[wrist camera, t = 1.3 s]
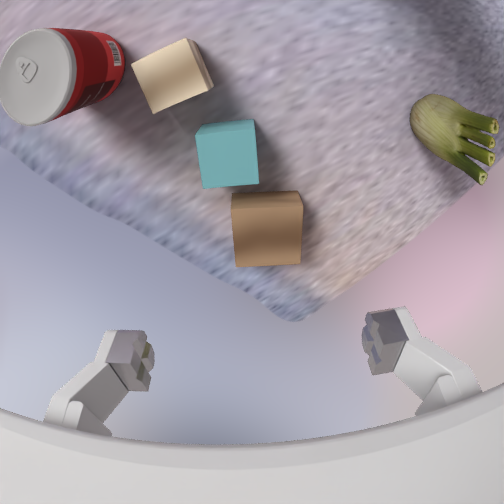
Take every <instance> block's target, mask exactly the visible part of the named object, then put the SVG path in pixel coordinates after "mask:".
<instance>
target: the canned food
mask: <svg viewBox="0 0 504 504" xmlns="http://www.w3.org/2000/svg"><path fill="white" fill-rule="evenodd" d="M124 69H125V58H124V54H123V51H122V49H121V47H120V45H119V44H118V43H117V42H116V41H115V39H113V38H112V37H111V36H109V35H107V34H104V33H100V32H93V31H84V30H73V29H59V28H41V29H35V30H31V31H29V32H26V33H24V34H23V35H21V36H20V37H18V38H17V39H16V40H15V41H14V42H13V43H12V44H11V46H10V47H9V49H8V50H7V51H6V53H5V55H4V57H3V59H2V62H1V65H0V101H1V104H2V106H3V108H4V110H5V111H6V113H7V114H8V116H9V117H10V118H12V119H13V120H14V121H15V122H17V123H19V124H21V125H25V126H36V125H40V124H44V123H47V122H49V121H52V120H54V119H57V118H59V117H61V116H63V115H66V114H68V113H71V112H73V111H75V110H78V109H80V108H83V107H85V106H88V105H91V104H93V103H96V102H98V101H101V100H103V99H105V98H106V97H108V96H109V95H110V94H111V93H112V92H113V91H114V90H115V89H116V87H117V86H118V85H119V83H120V81H121V79H122V77H123V73H124Z"/></svg>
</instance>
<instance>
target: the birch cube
mask: <svg viewBox="0 0 504 504" xmlns="http://www.w3.org/2000/svg"><path fill="white" fill-rule="evenodd" d="M131 66H132V68H133V70H134V73H135V75H136V77H137V79H138V82H139V84H140V86H141V88H142V91H143V93H144V95H145V97H146V100H147V102H148V104H149V106H150V108H151V111H152V113H153V114H155V113H157V112H159V111H161V110H163V109H165V108H168V107H170V106H172V105H174V104H177V103H179V102H181V101H184V100H186V99H188V98H191V97H193V96H196V95H198V94H200V93H203V92H206V91H208V90H210V89H211V88H212V87H214V85H213V83H212V80H211V78H210V75H209V73H208V70H207V68H206V66H205V63H204V61H203V58H202V56H201V54H200V51H199V49H198V47H197V44H196V42H195V41H192V40H190V39H187V38H184V39H182V40H180V41H178V42H175V43H173V44H171V45H169V46H166V47H164V48H162V49H160V50H158V51H156V52H154V53H152V54H150V55H148V56H146V57H144V58H142V59H140V60H138V61H136V62H134V63H132V64H131Z"/></svg>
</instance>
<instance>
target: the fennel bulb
mask: <svg viewBox="0 0 504 504" xmlns="http://www.w3.org/2000/svg"><path fill="white" fill-rule="evenodd" d="M410 125H411V127H412V130H413V132H414V134H415V135H416V136H417V138H418V139H419V140H420V141H421V142H422V143H423V144H424V145H425V146H426V147H427V148H428V149H429V150H430V151H431V152H433V153H434V154H435V155H437V156H438V157H440V158H441V159H443V160H445V161H448V162H449V163H451V164H453V165H454V166H456V167H458V168H459V169H461V170H463V171H464V172H465V173H466V174H468V175H469V176H470V177H472V178H473V179H474V180H475V181H476V182H477V183H479V184H480V185H483V184H484V182H485V181H486V179H487V176H488V174H487V173H486V172H485V171H484V170H483V169H482V168H481V167H479V166H478V165H477V164H476V163H474V162H473V161H472V160H470V159H469V158H468V157H467V156H465V154H466V155H468V156H470V157H472V158H474V159H476V160H478V161H480V162H482V163H484V164H486V165H488V166H490V167H491V166H492V164H493V163H494V161H495V153H493V152H491V151H489V150H487V149H486V148H482V147H480V146H478V145H476V144H474V143H472V142H470V141H468V139H470V140H473V141H475V142H478V143H480V144H482V145H484V146H486V147H488V148H489V149H491V148H494V147H495V139H494V138H493V137H492V136H490V135H487V134H485V133H482V132H481V131H480V130H482V131H486V132H489V133H492V134H498V132H499V124H498V121H497V120H496V119H495V118H492V117H488V116H484V115H481V114H478V113H475V112H472V111H469V110H467V109H466V108H464V107H463V106H461V105H460V104H458V103H457V102H455V101H453V100H451V99H449V98H447V97H444V96H441V95H436V94H429V95H427V96H425V97H423V98H422V99H420V100H418V101H417V102H416V103H415V104H414V106H413V107H412V109H411V113H410ZM467 138H468V139H467Z"/></svg>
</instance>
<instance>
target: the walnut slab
mask: <svg viewBox="0 0 504 504" xmlns="http://www.w3.org/2000/svg"><path fill="white" fill-rule="evenodd" d="M231 217H232V229H233V240H234V251H235V263H236V267H250V266H271V265H291V264H300V260H301V244H302V225H303V204H302V201H301V199H300V196H299V193H298V191H273V192H249V193H232V201H231Z"/></svg>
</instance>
